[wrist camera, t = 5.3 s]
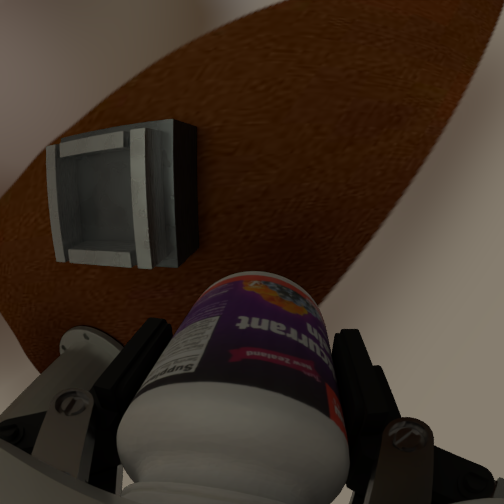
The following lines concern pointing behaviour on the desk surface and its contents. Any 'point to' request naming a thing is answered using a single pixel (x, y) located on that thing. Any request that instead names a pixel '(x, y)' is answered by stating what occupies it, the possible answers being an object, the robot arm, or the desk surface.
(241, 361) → the pill bottle
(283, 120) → the desk surface
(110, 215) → the grey open box
